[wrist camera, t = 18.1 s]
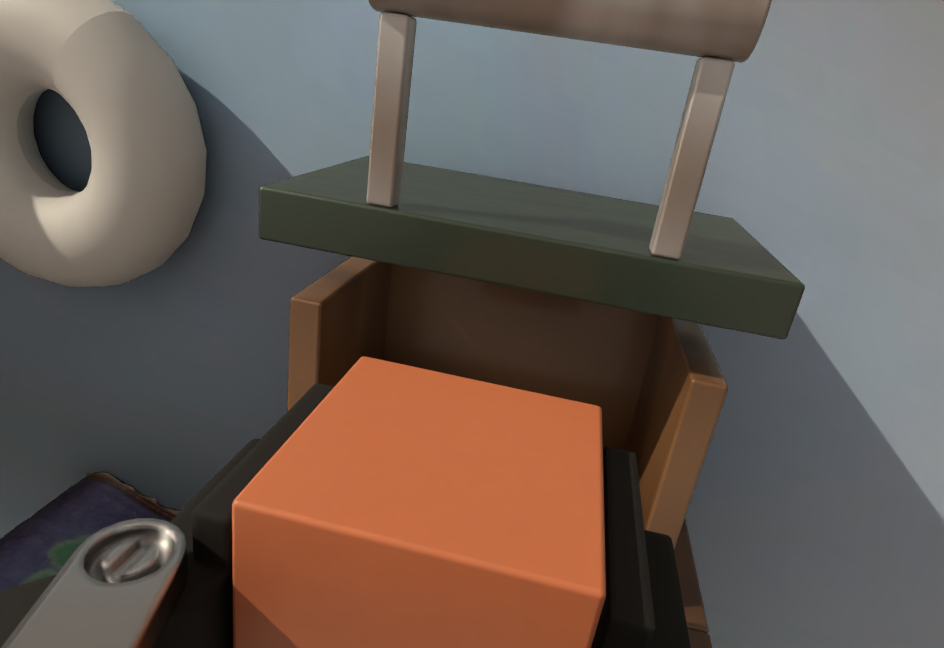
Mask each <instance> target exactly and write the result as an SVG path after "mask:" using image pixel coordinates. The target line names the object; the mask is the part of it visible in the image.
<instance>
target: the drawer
mask: <svg viewBox="0 0 944 648" xmlns="http://www.w3.org/2000/svg"><path fill="white" fill-rule="evenodd" d="M771 1H772V0H369V3H370V5H371V7H372V8H373V9H374V10H376V11H378V12H381V14H380V23H379V36H378V50H377V64H376V77H375V91H374V104H373V118H372V131H371V145H370V156H366V157H362V158H359V159H355V160H352V161H348V162H345V163H341V164H338V165H334V166H331V167H327V168H324V169H320V170H317V171H313V172H309V173H306V174H302V175H299V176H295V177H292V178H288V179H285V180H281V181H278V182H274V183H271V184H267V185H264V186H261V187H260V189H259V237H260V238H261V239H264V240H269V241H274V242H280V243H285V244H290V245H295V246H300V247H306V248H311V249H316V250H321V251H326V252H332V253H337V254H342V255H347V256H352V257H351V258H349V259H348V260H346V261H345V262H343V263H342V264H340V265H339V266H337V267H336V268H334V269H333V270H331V271H330V272H329V273H327V274H326V275H324V276H323V277H321V278H320V279H318V280H317V281H315V282H314V283H312V284H311V285H309V286H308V287H306V288H305V289H303V290H302V291H300V292H299V293H298V294H296V295H295V296H293V297H292V298H291V306H290V340H289V375H288V409H287V412H288V411H289V410H290V409H291V408H292V407H293V406H294V405H295V404H296V403H297V402H298V401H299V400H300V399H301V398H302V396H303V395H304V394H305V393H306V392H307V391H308V390H309V389H310V388H311V387H312V386H313V385H314V384H316V383H319V384H324V385H328V386H333V387H335V386H336V385H337V383H338V382H339V381H340V380H341V379H342V378H343V377H344V376H345V374H346V373H347V372H348V371H349V370H350V369H351V368H352V367H353V365H354V364H355V363H356V362H357V361H358V360H359V359H360V358H361V357H364V356H366V357H370V358H375V359H380V360H384V361H389V362H394V363H398V364H403V365H408V366H413V367H417V368H422V369H427V370H431V371H436V372H441V373H446V374H450V375H455V376H460V377H464V378H469V379H474V380H478V381H483V382H488V383H493V384H497V385H502V386H507V387H511V388H516V389H521V390H526V391H530V392H535V393H540V394H544V395H549V396H554V397H558V398H563V399H568V400H573V401H577V402H582V403H587V404H591V405H596V406H599V407H601V409H602V438H603V449H604V447H610V448H614V449H619V450H623V451H628V452H632V453H635V454H636V460H637V469H638V478H639V487H640V496H641V505H642V514H643V522H644V530H648V531H652V532H656V533H661V534H665V535H669V536H670V537H671V539H672V543H673V547H674V548H675V545H676V543H677V540H678V537H679V534H680V531H681V528H682V525H683V522H684V519H685V516H686V513H687V510H688V507H689V504H690V501H691V498H692V495H693V492H694V489H695V486H696V483H697V480H698V477H699V474H700V471H701V468H702V465H703V462H704V459H705V456H706V453H707V450H708V447H709V444H710V441H711V438H712V435H713V432H714V429H715V426H716V423H717V420H718V417H719V414H720V411H721V408H722V405H723V402H724V399H725V396H726V393H727V391H728V386H727V384H726V381H725V379H724V377H723V375H722V372H721V370H720V368H719V366H718V363H717V361H716V359H715V357H714V354H713V352H712V350H711V348H710V345H709V343H708V341H707V339H706V336H705V334H704V332H703V330H702V327H701V325H700V324H705V325H710V326H715V327H721V328H726V329H731V330H736V331H741V332H747V333H752V334H757V335H762V336H767V337H772V338H778V339H786V338H787V336H788V333H789V330H790V328H791V325H792V322H793V319H794V317H795V314H796V311H797V308H798V306H799V303H800V300H801V297H802V295H803V292H804V289H805V286H804V284H803V283H802V282H801V281H800V280H798V279H797V278H796V277H795V276H794V275H793V274H792V273H791V272H790V271H789V270H788V269H787V268H786V267H785V266H783V265H782V264H781V263H780V262H779V261H778V260H777V259H776V258H775V257H774V256H773V255H772V254H771V253H770V252H768V251H767V250H766V249H765V248H764V247H763V246H762V245H761V244H760V243H759V242H758V241H757V240H756V239H755V238H753V237H752V236H751V235H750V234H749V233H748V232H747V231H746V230H745V229H744V228H743V227H742V226H741V225H739V224H738V223H737V222H736V221H735V220H734V219H733V218H728V217H722V216H716V215H710V214H704V213H698V212H694V210H695V206H696V202H697V199H698V195H699V192H700V188H701V184H702V181H703V177H704V174H705V170H706V166H707V163H708V159H709V156H710V152H711V148H712V145H713V141H714V138H715V134H716V130H717V127H718V123H719V120H720V116H721V112H722V109H723V105H724V102H725V98H726V94H727V91H728V87H729V84H730V80H731V76H732V73H733V69H734V66H735V65H734V62H740V63H741V62H744V61H746V60H747V59H748V58H749V56H750V55H751V53H752V51H753V50H754V48H755V46H756V44H757V41H758V39H759V37H760V34H761V32H762V29H763V27H764V24H765V21H766V18H767V15H768V11H769V8H770V4H771ZM411 16H413V17H411ZM414 17H420V18H427V19H434V20H442V21H449V22H456V23H463V24H470V25H477V26H484V27H491V28H498V29H506V30H513V31H520V32H527V33H534V34H541V35H548V36H555V37H562V38H570V39H577V40H584V41H591V42H598V43H605V44H612V45H619V46H626V47H633V48H641V49H648V50H655V51H662V52H669V53H676V54H683V55H690V56H697V57H703V58H699V59H698V60H697V61H696V65H695V69H694V73H693V77H692V81H691V85H690V89H689V92H688V96H687V100H686V104H685V108H684V112H683V116H682V120H681V124H680V128H679V132H678V136H677V139H676V143H675V147H674V151H673V155H672V159H671V163H670V167H669V171H668V175H667V179H666V183H665V186H664V190H663V194H662V198H661V202H660V206H657V205H652V204H646V203H640V202H634V201H628V200H622V199H617V198H611V197H605V196H599V195H593V194H587V193H582V192H576V191H570V190H564V189H558V188H552V187H546V186H541V185H535V184H529V183H523V182H517V181H511V180H506V179H500V178H494V177H488V176H482V175H476V174H470V173H465V172H459V171H453V170H447V169H441V168H435V167H430V166H424V165H418V164H412V163H406V162H403V161H404V150H405V140H406V129H407V119H408V108H409V97H410V87H411V76H412V66H413V55H414V45H415V34H416V23H417V22H416V19H415V18H414Z"/></svg>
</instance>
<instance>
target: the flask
mask: <svg viewBox="0 0 944 648" xmlns="http://www.w3.org/2000/svg"><path fill="white" fill-rule="evenodd" d="M86 474H87V477H85V478H84V479H82V480H81V481H80V482H78V483H77V484H75V485H73V486H72V487H70V488H69V489H68V490H67V491H65V492H64V493H62V494H61V495H59V496H58V497H57V498H56V499H54V500H53V501H51V502H50V503H49V504H47V505H46V506H45V507H43V508H42V509H41V510H39V511H38V512H37V513H35V514H34V515H33V516H32V517H31V518H29V519H27V520H25V521H24V522H22V523H21V524H19V525H18V526H16V527H15V528H14V529H13V530H12V531H10V532H9V533H7V534H6V535H5V536H4V537H3V538H1V539H0V590H3V589H7V588H10V587H14V586H17V585H21V584H25V583H28V582H32V581H35V580H39V579H42V578H46V577H50V576H53V575H57V574H58V572H59V571H60V570H61V569H62V567H63V566H64V565H65V563H66V562H67V561H68V559H69V558H70V557H71V555H72V554H73V553H74V552H75V550H76V549H77V548H78V547H79V546H80V545H81V544H82V543H83V542H84V541H85V540H86V539H87V538H88V537H90V536H91V535H93V534H94V533H96V532H98V531H99V530H101V529H103V528H105V527H108V526H110V525H113V524H115V523H118V522H122V521H126V520H131V519H136V518H154V519H160V520H165V521H168V522H171V521H172V520H173V519H174V518H175V517H176V516H177V515H178V514H179V513H180V512H181V510H175V509H174V510H173V509H167V508H165V509H164V508H163V507H161V506H160V505H158V504H157V502H156V498H151V497H143V496H142V495H140V494H138V493H137V492H136V491H135V490H134V489H133V488H132V487H133V486H132V485H131V486H128V485H125V484H123V483H121V482H120V481H119V480H117V479H115V478H114V477H112V475H110V474H109V473H105V472H103V473H102V472H99V473H93V474H90V473H86Z"/></svg>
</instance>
